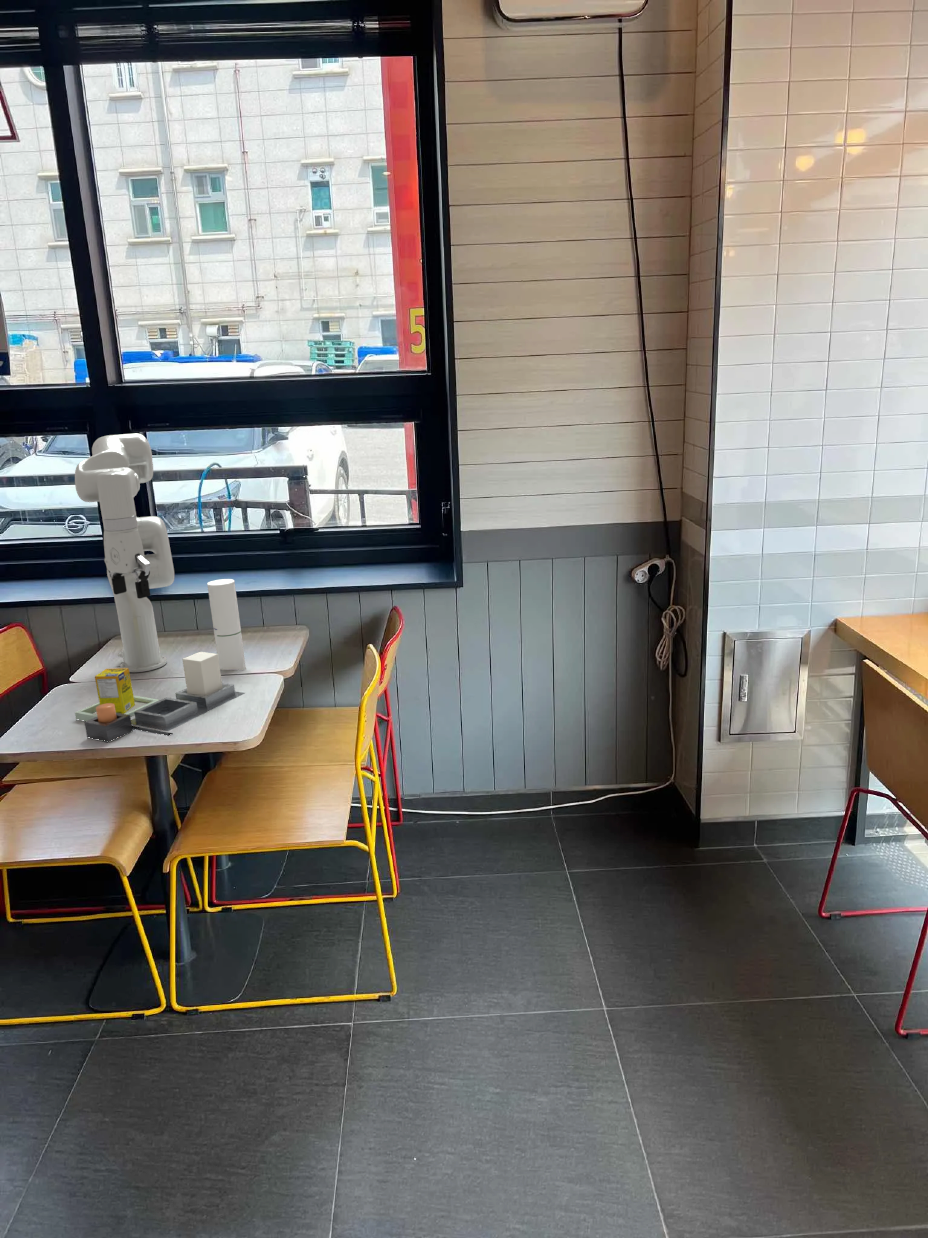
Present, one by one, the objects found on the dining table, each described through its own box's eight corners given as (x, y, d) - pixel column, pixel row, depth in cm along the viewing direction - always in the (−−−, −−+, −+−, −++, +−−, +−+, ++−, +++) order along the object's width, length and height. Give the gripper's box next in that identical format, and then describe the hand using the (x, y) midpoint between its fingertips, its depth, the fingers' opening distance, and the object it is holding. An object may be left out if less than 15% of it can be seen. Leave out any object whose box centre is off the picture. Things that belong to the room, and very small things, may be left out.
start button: (95, 725, 206) (92, 708, 205) (109, 719, 209) (106, 702, 208) (107, 727, 204) (104, 710, 203) (121, 721, 207) (118, 704, 206)
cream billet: (188, 701, 223) (182, 658, 220) (205, 692, 228) (200, 651, 225) (206, 704, 220) (200, 661, 217) (223, 695, 225) (217, 654, 222)
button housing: (87, 738, 206) (84, 722, 205) (111, 727, 212) (109, 711, 211) (108, 742, 203) (105, 726, 201) (132, 731, 208) (130, 715, 207)
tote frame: (76, 720, 218) (74, 712, 217) (121, 700, 229) (120, 693, 229) (116, 728, 211) (114, 720, 210) (161, 707, 223) (160, 699, 222)
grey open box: (125, 727, 211) (123, 712, 210) (204, 690, 233) (202, 677, 232) (168, 736, 204) (166, 720, 203) (245, 697, 226) (244, 683, 225)
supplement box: (136, 709, 223) (129, 667, 220) (125, 718, 217) (117, 675, 214) (113, 709, 223) (106, 668, 220) (101, 718, 218) (94, 676, 215)
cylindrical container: (237, 663, 253) (225, 577, 247) (250, 668, 248) (239, 581, 242) (214, 670, 249) (202, 583, 242) (227, 675, 244) (215, 586, 237)
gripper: (85, 525, 213) (97, 595, 218) (127, 529, 203) (139, 602, 207) (114, 520, 219) (125, 588, 223) (156, 523, 209) (167, 595, 213)
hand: (132, 595), depth 215 cm, fingers open, 9 cm apart
